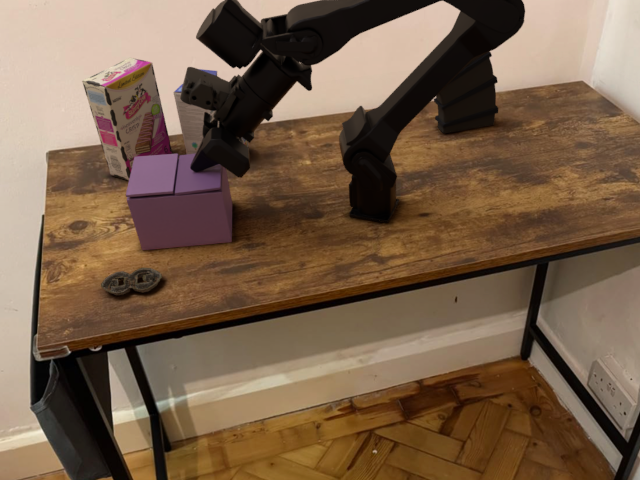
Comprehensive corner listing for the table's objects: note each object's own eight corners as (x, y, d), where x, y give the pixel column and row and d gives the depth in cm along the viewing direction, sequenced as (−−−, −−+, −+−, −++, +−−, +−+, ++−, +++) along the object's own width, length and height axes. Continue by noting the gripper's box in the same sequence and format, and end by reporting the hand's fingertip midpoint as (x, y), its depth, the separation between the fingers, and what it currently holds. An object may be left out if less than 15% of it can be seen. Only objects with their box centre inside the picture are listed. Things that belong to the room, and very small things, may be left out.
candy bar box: (133, 183, 111) (104, 86, 100) (110, 176, 113) (79, 80, 101) (175, 153, 119) (153, 60, 107) (153, 147, 120) (128, 55, 109)
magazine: (511, 115, 126) (488, 46, 115) (452, 153, 127) (424, 88, 116) (502, 107, 129) (479, 39, 118) (444, 144, 129) (416, 80, 118)
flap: (222, 152, 101) (221, 150, 100) (220, 189, 93) (220, 187, 93) (180, 157, 100) (179, 155, 100) (175, 195, 92) (174, 193, 92)
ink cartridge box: (250, 150, 119) (238, 69, 109) (239, 165, 116) (225, 82, 106) (199, 145, 121) (182, 64, 111) (186, 159, 117) (167, 77, 107)
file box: (232, 203, 107) (222, 149, 100) (231, 242, 99) (220, 187, 93) (149, 210, 105) (134, 156, 99) (142, 250, 97) (124, 195, 91)
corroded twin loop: (103, 279, 92) (101, 273, 92) (162, 270, 94) (160, 264, 93) (102, 301, 89) (100, 295, 88) (163, 291, 90) (161, 285, 90)
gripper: (211, 23, 92) (149, 106, 98) (207, 77, 78) (134, 168, 85) (275, 77, 98) (212, 151, 104) (281, 135, 85) (208, 216, 91)
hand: (193, 169), depth 96 cm, fingers closed, pressing on flap
